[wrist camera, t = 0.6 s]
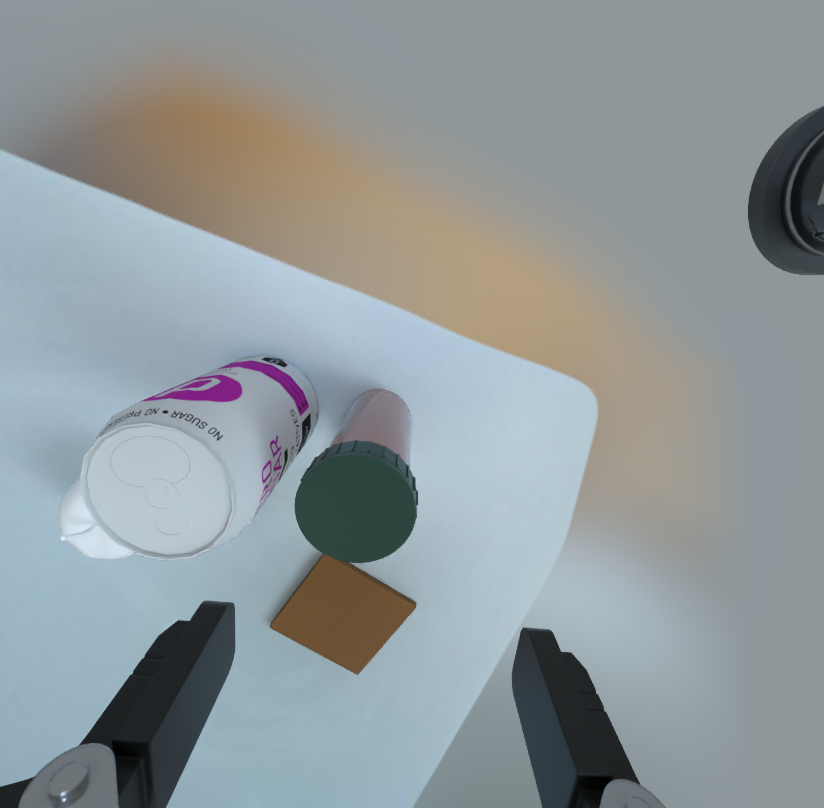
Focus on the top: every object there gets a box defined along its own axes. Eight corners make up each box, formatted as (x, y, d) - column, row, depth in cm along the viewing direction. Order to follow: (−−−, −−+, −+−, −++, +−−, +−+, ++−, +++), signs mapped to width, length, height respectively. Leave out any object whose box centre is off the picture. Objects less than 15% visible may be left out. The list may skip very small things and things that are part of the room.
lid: (343, 416, 20) (336, 429, 19) (440, 480, 21) (442, 498, 20) (282, 504, 22) (270, 524, 20) (375, 560, 23) (372, 584, 21)
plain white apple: (160, 440, 34) (85, 486, 26) (200, 512, 36) (141, 574, 28) (87, 466, 35) (-6, 518, 27) (130, 535, 36) (54, 601, 29)
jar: (370, 376, 32) (340, 437, 19) (423, 412, 33) (429, 495, 20) (335, 427, 34) (285, 517, 20) (387, 460, 34) (371, 567, 21)
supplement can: (207, 360, 32) (37, 421, 18) (310, 348, 32) (223, 400, 17) (232, 455, 34) (99, 578, 20) (328, 444, 34) (265, 561, 20)
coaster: (326, 549, 37) (325, 553, 36) (416, 602, 38) (416, 607, 38) (271, 622, 39) (269, 627, 38) (358, 669, 41) (357, 675, 40)
